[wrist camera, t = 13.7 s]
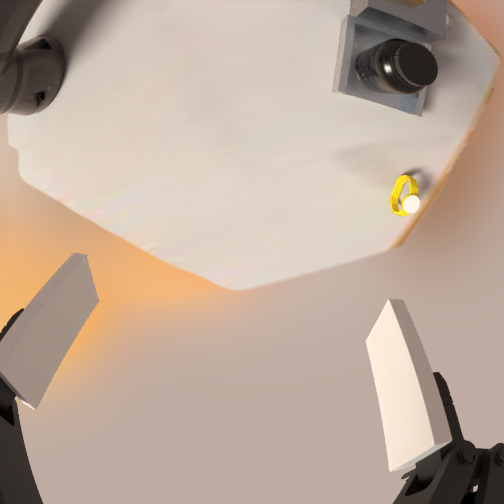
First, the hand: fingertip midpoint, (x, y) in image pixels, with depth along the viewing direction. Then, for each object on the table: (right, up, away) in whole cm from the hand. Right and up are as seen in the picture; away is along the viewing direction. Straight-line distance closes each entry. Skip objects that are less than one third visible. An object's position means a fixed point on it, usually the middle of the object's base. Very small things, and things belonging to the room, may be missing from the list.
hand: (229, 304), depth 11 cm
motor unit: (+20, +31, +15) cm, 40 cm away
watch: (+23, +12, +27) cm, 37 cm away
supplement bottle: (+18, +26, +17) cm, 36 cm away
